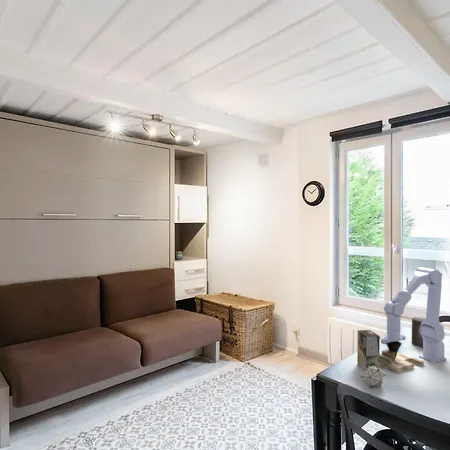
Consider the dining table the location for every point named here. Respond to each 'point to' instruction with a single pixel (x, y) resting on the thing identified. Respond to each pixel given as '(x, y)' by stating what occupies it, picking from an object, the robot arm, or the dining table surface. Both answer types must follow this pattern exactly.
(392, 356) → the walnut block
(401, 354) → the trap deck
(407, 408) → the dining table surface
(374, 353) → the coffee box
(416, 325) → the dark brown upright box
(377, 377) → the game die
